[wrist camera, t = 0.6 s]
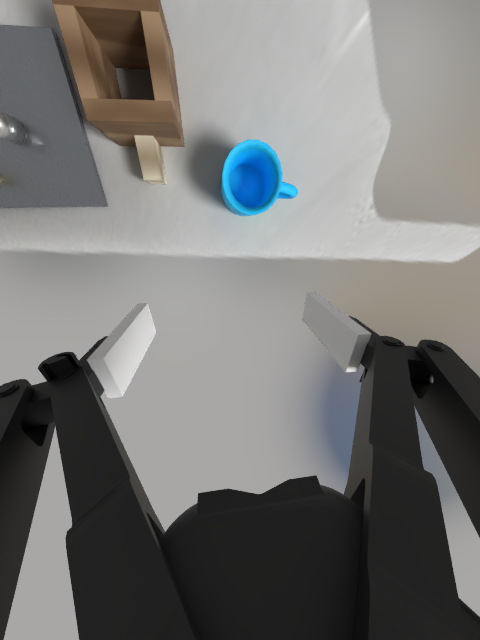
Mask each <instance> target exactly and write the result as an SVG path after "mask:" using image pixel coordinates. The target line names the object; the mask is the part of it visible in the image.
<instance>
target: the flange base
mask: <svg viewBox="0 0 480 640" xmlns="http://www.w3.org/2000/svg"><path fill="white" fill-rule="evenodd" d="M30 207H108V205H107V201H106V198H105V195H104V191H103V188H102V185H101V181H100V178H99V175H98V171H97V168H96V165H95V161H94V158H93V155H92V151H91V148H90V145H89V141H88V138H87V135H86V131H85V128H84V125H83V121H82V118H81V115H80V111H79V108H78V105H77V101H76V98H75V95H74V91H73V88H72V85H71V81H70V78H69V75H68V71H67V68H66V65H65V62H64V58H63V55H62V52H61V48H60V45H59V42H58V38H57V35H56V33H55V32H54V31H53V30H52V29H51V28H42V27H27V26H11V25H0V208H30Z"/></svg>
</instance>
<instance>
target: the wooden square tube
mask: <svg viewBox="0 0 480 640" xmlns="http://www.w3.org/2000/svg"><path fill="white" fill-rule="evenodd" d="M52 1H53V5H54V8H55V12H56V15H57V18H58V22H59V25H60V29H61V32H62V36H63V39H64V42H65V46H66V49H67V53H68V56H69V60H70V63H71V66H72V70H73V73H74V77H75V80H76V84H77V87H78V90H79V94H80V97H81V101H82V104H83V108H84V111H85V114H86V118H87V121H89V122H90V123H91V124H93V125H94V126H95V127H96V128H98V129H99V130H100V131H102V132H103V133H104V134H105V135H107V136H108V137H109V138H111V139H112V140H113V141H114V142H116V143H117V144H118V145H120V146H136V147H137V151H138V156H139V161H140V165H141V170H142V175H143V180H145V181H147V182H149V183H150V184H167V181H166V175H165V169H164V163H163V157H162V151H161V146H177V147H184V138H183V130H182V122H181V113H180V105H179V97H178V88H177V80H176V72H175V63H174V55H173V49H172V45H171V41H170V37H169V33H168V29H167V25H166V21H165V18H164V14H163V10H162V6H161V2H160V0H52ZM115 68H131V69H150V73H151V79H152V85H153V91H154V97H155V100H130V99H122V98H121V93H120V89H119V84H118V80H117V75H116V71H115Z"/></svg>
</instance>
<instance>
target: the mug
mask: <svg viewBox="0 0 480 640" xmlns="http://www.w3.org/2000/svg"><path fill="white" fill-rule="evenodd" d="M221 192H222V197H223V200H224V202H225V204H226V205H227V207H228V208H229V209H230V210H231V211H232V212H233V213H235V214H237V215H240V216H250V215H256V214H259V213H261V212H264V211H266V210H267V209H268V208H269V207H270V206H272V205H273V203H274V202H275V200H276V199H277V198H282V199H291V198H294V197H296V196H297V193H298V190H297V188H296V187H295V186H293V185H291V184H288V183H285V182H282V170H281V164H280V161H279V159H278V157H277V155H276V153H275V151H274V150H273V149H272V148H271V147H270V146H269V145H268V144H266V143H264V142H261V141H259V140H246V141H244V142H242V143H239V144H238V145H237V146H236V147H235V148H234V149H233V150H232V151H231V152H230V153H229V155H228V157H227V159H226V161H225V164H224V168H223V173H222V181H221Z"/></svg>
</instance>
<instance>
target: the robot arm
mask: <svg viewBox="0 0 480 640" xmlns="http://www.w3.org/2000/svg"><path fill="white" fill-rule="evenodd" d="M303 321H304V322H305V324H306V325H307V326H308V327H309V329H310V330H311V331H312V332H313V333H314V335H315V336H316V337H317V338H318V340H319V341H320V342H321V343H322V344H323V346H324V347H325V348H326V349H327V350H328V352H329V353H330V354H331V355H332V356H333V358H334V359H335V360H336V361H337V362H338V364H339V365H340V366H341V367H342V368H343V370H344V371H345V372H354V371H358V369H359V366H360V363H361V364H362V365H363V366H364V367H365V369H364V372H363V374H362V377H361V379H360V382H362V384H361V391H360V398H359V405H358V412H357V420H356V427H355V433H354V441H353V448H352V455H351V462H350V469H349V476H348V481H347V485H346V488H345V492H344V495H343V494H341V493H340V492H338V491H336V490H334V489H332V488H329V487H326V486H323V485H320V484H319V481H318V479H317V476H310V477H303V478H296V479H289V480H287V481H285V482H283V483H281V484H279V485H278V486H276V487H274V488H272V489H270V490H268V491H266V492H265V493H263V494H254V493H248V492H243V491H237V490H232V489H224V490H217V491H210V492H204V493H198V503H197V504H195V505H194V506H192V507H190V508H189V509H187V510H186V511H185V512H184V513H183V514H181V515H180V516H179V517H178V518H177V519H176V520H175V521H174V522H173V523H172V524H171V526H170V527H169V528H168V529H167V531H166V532H165V531H164V529H163V527H162V525H161V523H160V521H159V519H158V518H157V516H156V514H155V512H154V510H153V508H152V506H151V504H150V502H149V499H148V497H147V495H146V493H145V491H144V489H143V487H142V484H141V482H140V480H139V478H138V476H137V474H136V472H135V469H134V467H133V465H132V463H131V461H130V459H129V457H128V455H127V453H126V450H125V448H124V446H123V444H122V442H121V440H120V438H119V435H118V433H117V431H116V429H115V427H114V425H113V423H112V420H111V418H110V416H109V414H108V412H107V410H106V407H105V405H104V403H103V401H102V399H101V398H100V396H101V395H102V393H103V392H104V391H105V393H106V395H107V396H108V398H113V397H121V396H123V395H124V393H125V391H126V389H127V387H128V385H129V383H130V382H131V379H132V378H133V376H134V374H135V372H136V370H137V368H138V366H139V364H140V362H141V361H142V359H143V357H144V355H145V353H146V351H147V349H148V347H149V345H150V343H151V342H152V340H153V338H154V336H155V334H156V330H155V326H154V323H153V319H152V316H151V313H150V309H149V306H148V304H147V303H144V304H137V305H136V306H135V307H134V309H133V310H132V311H131V312H130V313H129V314H128V315H127V317H125V318H124V320H123V321H122V322H121V323H120V324H119V325H118V326H117V327H116V328H115V329H114V331H113V332H112V333H111V334H110V335H109V336H106V337H104V338H102V339H101V340H99V341H98V342H97V343H96V344H95V345H94V346H93V348H91V349H90V350H89V352H87V353H86V354H85V355H84V356H83V357H82V358H81V359H80V360H78V359H77V357H76V355H75V354H74V353H73V352H64V353H60V354H56V355H54V356H52V357H49V358H48V359H46V360H44V361H43V362H42V363H41V364H40V365H39V367H38V369H39V371H40V372H41V373H42V375H43V376H44V377H45V379H46V380H47V381H46V382H43V383H39V384H36V385H31V384H30V383H29V382H28V381H27V380H25V379H20V380H15V381H12V382H9V383H6V384H3V385H2V386H0V640H3V639H4V635H5V631H6V627H7V623H8V619H9V614H10V610H11V606H12V602H13V598H14V594H15V590H16V585H17V581H18V577H19V573H20V569H21V565H22V561H23V557H24V552H25V548H26V544H27V540H28V536H29V532H30V528H31V523H32V519H33V515H34V511H35V507H36V503H37V498H38V494H39V490H40V486H41V482H42V478H43V474H44V470H45V466H46V462H47V457H48V453H49V449H50V445H51V441H52V437H53V433H54V428H55V426H56V431H57V437H58V443H59V448H60V454H61V460H62V465H63V471H64V476H65V482H66V488H67V494H68V499H69V505H70V510H71V516H72V528H70V529H69V530H68V531H67V535H66V549H67V557H68V564H69V570H70V577H71V584H72V591H73V598H74V605H75V612H76V619H77V626H78V633H79V640H480V617H479V616H478V615H477V614H476V613H475V612H474V611H472V610H471V609H470V608H469V607H468V606H467V605H466V604H465V603H464V602H463V601H461V599H459V598H458V593H457V589H456V583H455V578H454V572H453V567H452V561H451V556H450V551H449V545H448V540H447V535H446V529H445V524H444V518H443V513H442V508H441V502H440V497H439V492H438V486H437V483H436V480H435V478H434V476H433V475H432V474H431V473H429V472H427V471H425V470H424V468H423V464H422V457H421V451H420V443H419V436H418V429H417V422H416V416H415V409H414V406H415V408H416V410H417V412H418V414H419V416H420V418H421V420H422V421H423V424H424V426H425V428H426V430H427V432H428V434H429V436H430V438H431V440H432V442H433V444H434V446H435V448H436V450H437V452H438V454H439V456H440V458H441V460H442V462H443V464H444V466H445V468H446V470H447V472H448V474H449V476H450V478H451V481H452V483H453V484H454V487H455V488H456V491H457V493H458V494H459V497H460V499H461V500H462V502H463V505H464V507H465V509H466V511H467V513H468V515H469V517H470V519H471V521H472V523H473V525H474V527H475V529H476V531H477V533H478V535H479V537H480V378H479V376H478V375H477V374H476V373H475V372H474V371H473V370H472V369H471V368H470V367H469V366H468V365H467V364H466V363H465V362H464V361H463V360H462V359H461V358H460V357H459V356H458V355H457V354H456V353H455V352H454V351H453V350H452V349H451V348H450V347H448V346H447V345H445V344H443V343H441V342H438V341H432V340H421V341H420V342H419V344H418V346H417V347H413V346H405V344H404V343H403V342H401V341H400V340H398V339H396V338H393V337H388V336H379V335H378V334H377V333H375V332H373V331H372V330H371V329H370V328H368V327H366V326H365V325H364V324H362V323H361V322H360V321H359V320H357V319H356V318H353V317H351V316H347V315H346V314H345V313H343V312H342V311H341V310H339V309H338V308H337V307H335V306H334V305H333V304H331V303H330V302H329V301H327V300H326V299H325V298H323V297H322V296H321V295H320V294H318V293H317V292H315V291H314V292H307V295H306V301H305V307H304V314H303Z"/></svg>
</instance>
